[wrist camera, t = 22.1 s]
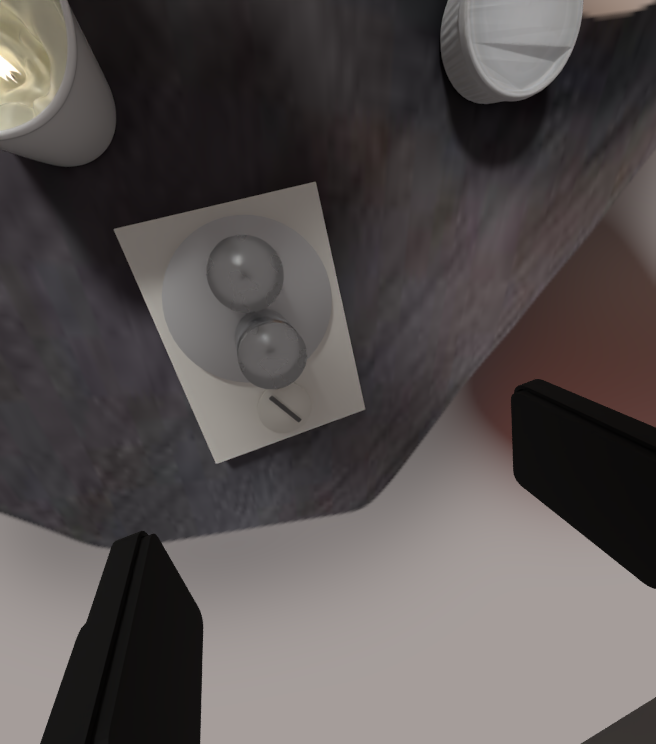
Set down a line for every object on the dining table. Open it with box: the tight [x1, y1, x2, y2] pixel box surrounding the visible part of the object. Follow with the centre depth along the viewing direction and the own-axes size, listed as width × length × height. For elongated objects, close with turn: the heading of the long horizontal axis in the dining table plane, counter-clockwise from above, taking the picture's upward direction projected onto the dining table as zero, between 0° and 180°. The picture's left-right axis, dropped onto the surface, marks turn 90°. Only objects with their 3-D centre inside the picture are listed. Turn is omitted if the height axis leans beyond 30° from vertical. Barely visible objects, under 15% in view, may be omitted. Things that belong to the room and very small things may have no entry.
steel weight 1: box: [207, 235, 284, 313], centre depth 27 cm, size 5×5×6 cm
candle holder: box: [0, 0, 116, 167], centre depth 20 cm, size 10×10×12 cm
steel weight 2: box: [235, 309, 307, 389], centre depth 29 cm, size 5×5×6 cm
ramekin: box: [440, 0, 583, 104], centre depth 31 cm, size 11×11×5 cm
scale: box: [114, 182, 365, 464], centre depth 34 cm, size 22×16×4 cm
